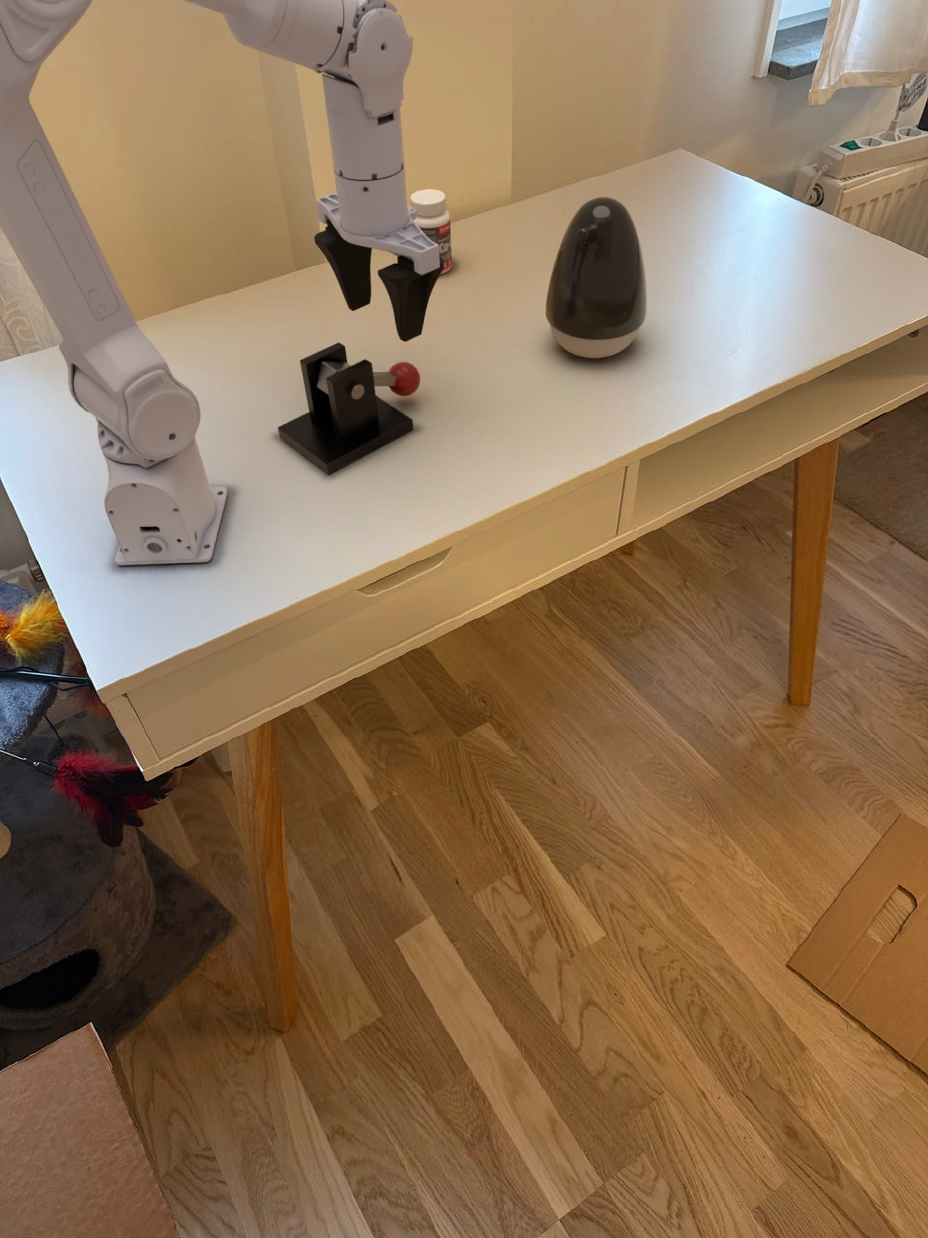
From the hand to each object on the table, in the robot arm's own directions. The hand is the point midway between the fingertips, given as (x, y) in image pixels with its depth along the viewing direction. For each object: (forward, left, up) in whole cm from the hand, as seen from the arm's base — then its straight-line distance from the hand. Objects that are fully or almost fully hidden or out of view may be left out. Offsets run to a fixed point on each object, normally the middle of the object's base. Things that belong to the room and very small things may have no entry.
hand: (384, 321), depth 85 cm
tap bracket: (-4, +4, -9) cm, 11 cm away
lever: (-2, +2, -6) cm, 7 cm away
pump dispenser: (+10, -21, -9) cm, 25 cm away
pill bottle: (+29, -4, -9) cm, 30 cm away
